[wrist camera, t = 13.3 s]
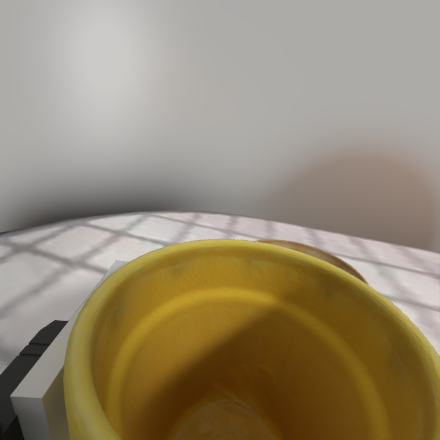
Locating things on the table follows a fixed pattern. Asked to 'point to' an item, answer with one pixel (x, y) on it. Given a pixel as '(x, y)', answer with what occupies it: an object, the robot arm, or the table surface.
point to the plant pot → (246, 352)
